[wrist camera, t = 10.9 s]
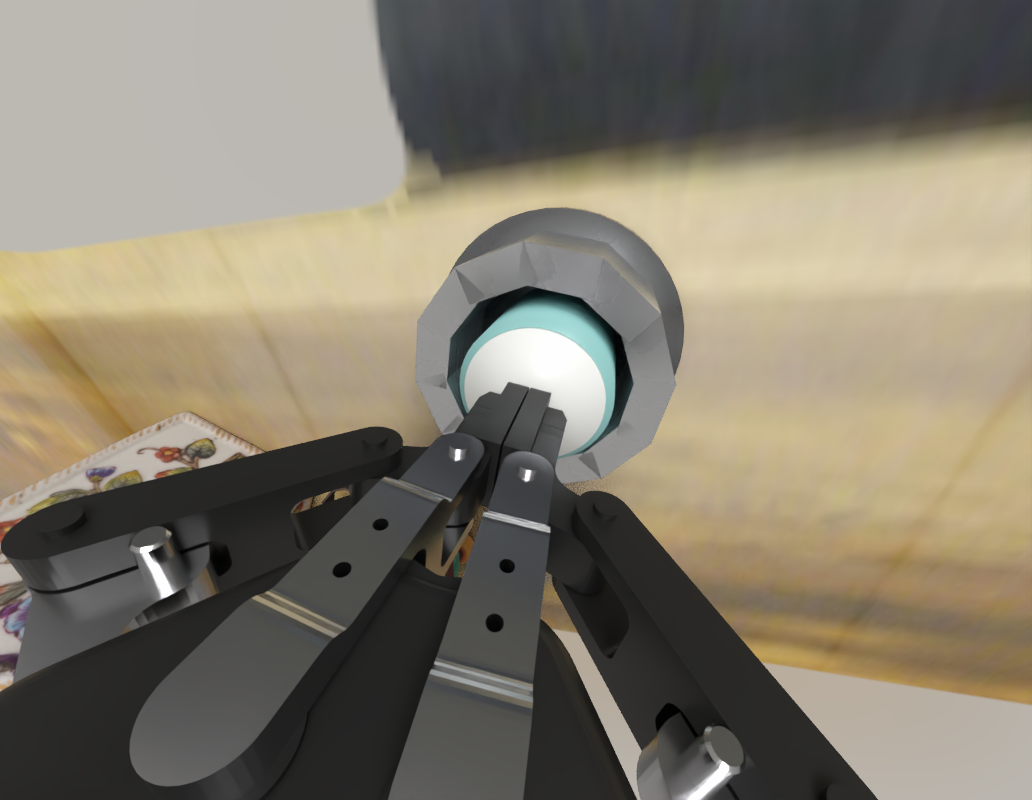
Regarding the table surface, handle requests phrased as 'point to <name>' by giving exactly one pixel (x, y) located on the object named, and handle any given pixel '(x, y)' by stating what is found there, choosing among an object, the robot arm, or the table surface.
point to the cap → (549, 361)
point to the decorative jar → (121, 464)
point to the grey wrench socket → (573, 271)
